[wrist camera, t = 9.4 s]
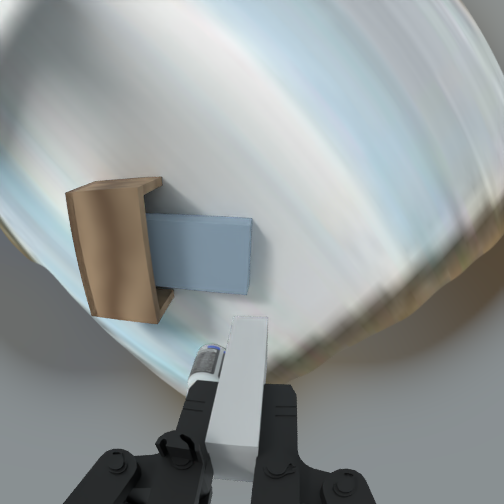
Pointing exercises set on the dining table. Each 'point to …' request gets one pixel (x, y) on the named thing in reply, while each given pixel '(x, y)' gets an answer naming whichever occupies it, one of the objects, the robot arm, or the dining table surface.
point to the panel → (200, 252)
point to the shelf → (116, 249)
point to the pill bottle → (207, 364)
